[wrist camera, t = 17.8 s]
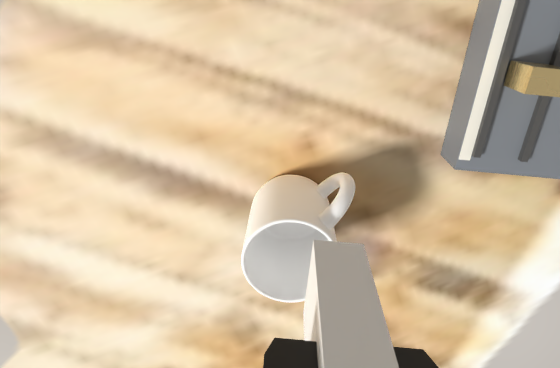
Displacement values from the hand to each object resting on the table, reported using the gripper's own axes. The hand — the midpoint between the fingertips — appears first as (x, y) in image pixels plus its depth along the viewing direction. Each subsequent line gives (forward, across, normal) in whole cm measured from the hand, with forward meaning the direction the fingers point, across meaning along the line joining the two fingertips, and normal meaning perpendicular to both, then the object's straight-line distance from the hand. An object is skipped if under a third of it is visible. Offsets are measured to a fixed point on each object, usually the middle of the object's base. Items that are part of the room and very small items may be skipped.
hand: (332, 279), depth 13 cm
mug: (+30, +1, -11) cm, 32 cm away
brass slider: (+25, +18, +4) cm, 31 cm away
